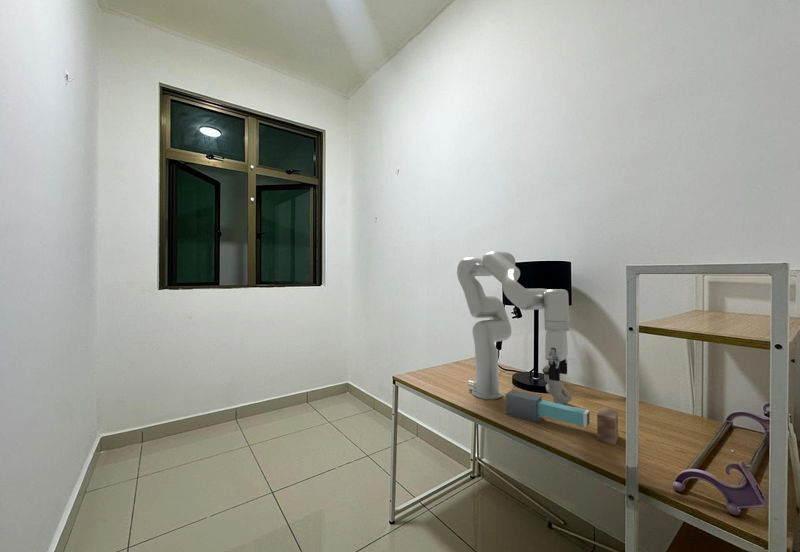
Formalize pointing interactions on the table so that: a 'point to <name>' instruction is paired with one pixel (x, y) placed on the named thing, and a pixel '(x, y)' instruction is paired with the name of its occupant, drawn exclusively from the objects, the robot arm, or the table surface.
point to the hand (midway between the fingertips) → (558, 376)
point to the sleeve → (522, 405)
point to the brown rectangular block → (607, 425)
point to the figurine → (556, 389)
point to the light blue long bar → (563, 413)
